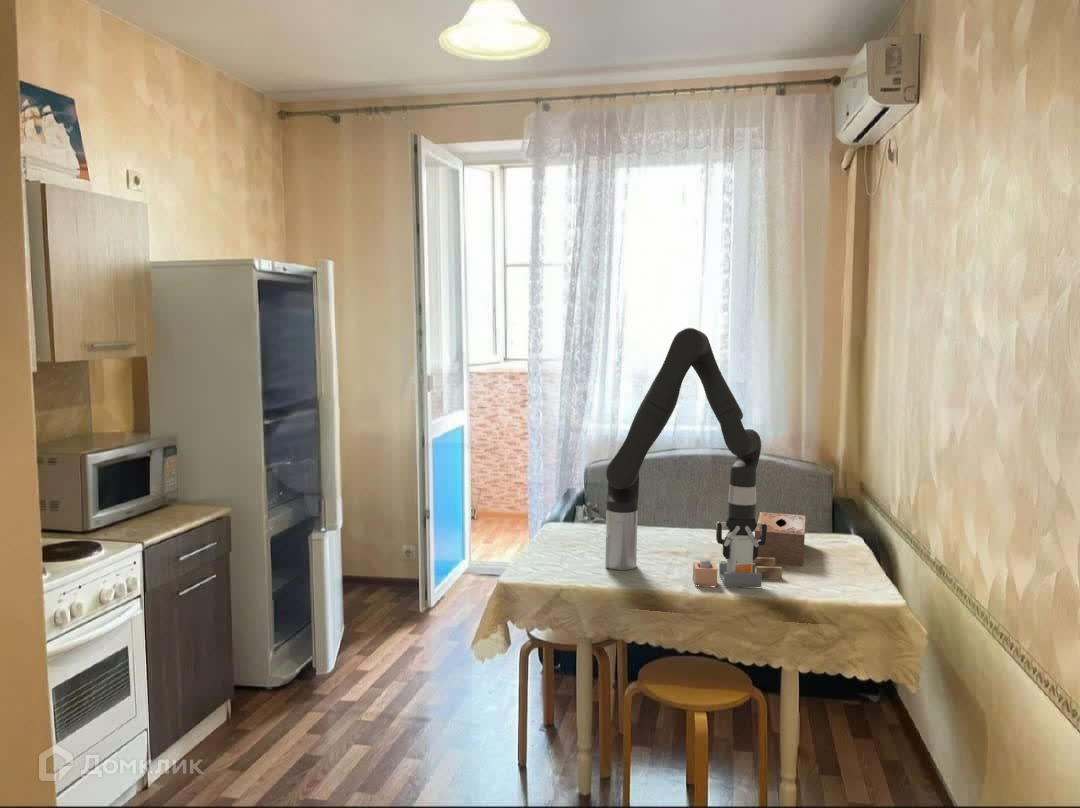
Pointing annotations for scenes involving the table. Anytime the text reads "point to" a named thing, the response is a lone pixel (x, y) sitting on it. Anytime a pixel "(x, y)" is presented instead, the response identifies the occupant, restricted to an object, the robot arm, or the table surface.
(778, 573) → the trough
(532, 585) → the table surface
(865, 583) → the table surface
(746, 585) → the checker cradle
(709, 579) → the cup
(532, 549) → the table surface
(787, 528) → the tissue box cover
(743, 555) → the skincare box
